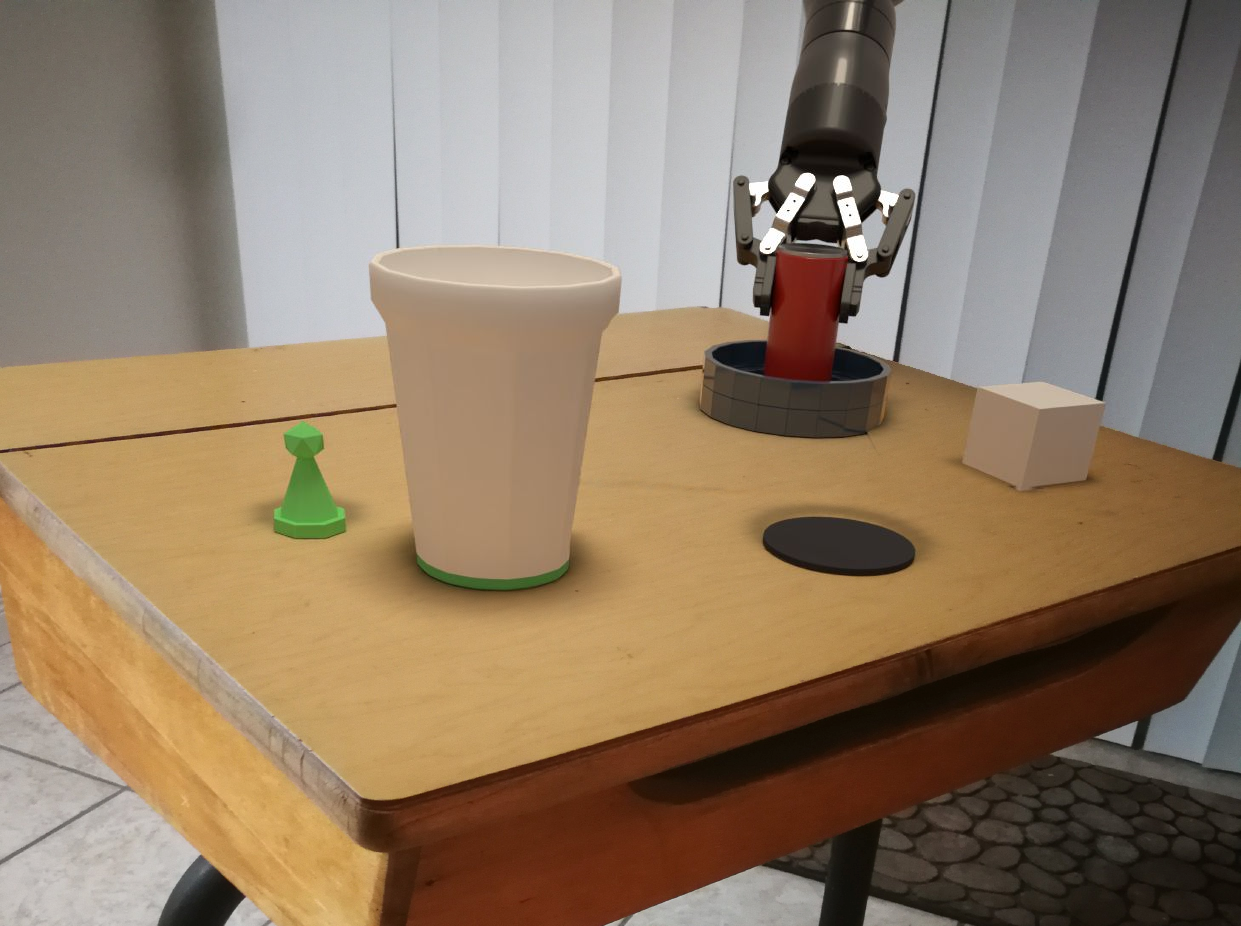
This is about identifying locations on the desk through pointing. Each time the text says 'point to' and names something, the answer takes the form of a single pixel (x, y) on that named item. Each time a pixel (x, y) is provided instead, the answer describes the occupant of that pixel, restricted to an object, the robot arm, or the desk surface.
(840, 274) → the can
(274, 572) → the desk surface
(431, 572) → the cup
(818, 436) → the dish
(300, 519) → the game piece
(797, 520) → the coaster
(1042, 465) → the beige cube
